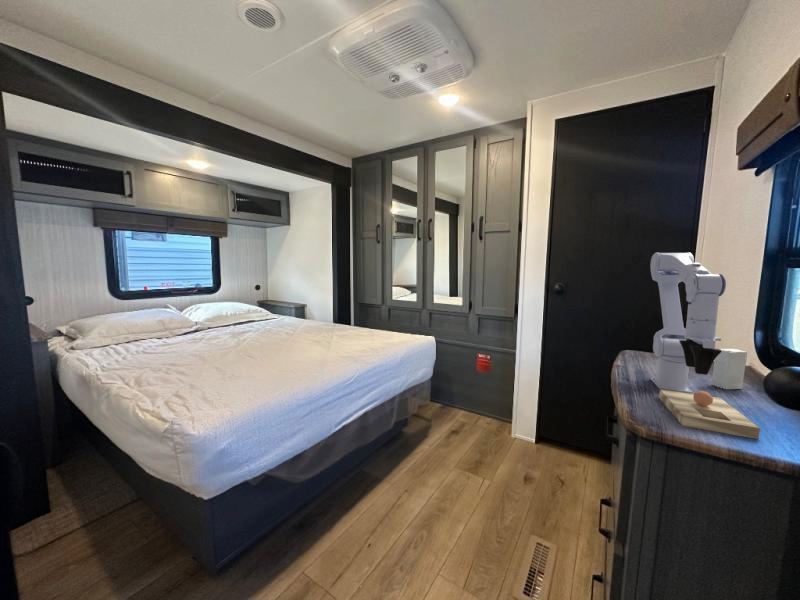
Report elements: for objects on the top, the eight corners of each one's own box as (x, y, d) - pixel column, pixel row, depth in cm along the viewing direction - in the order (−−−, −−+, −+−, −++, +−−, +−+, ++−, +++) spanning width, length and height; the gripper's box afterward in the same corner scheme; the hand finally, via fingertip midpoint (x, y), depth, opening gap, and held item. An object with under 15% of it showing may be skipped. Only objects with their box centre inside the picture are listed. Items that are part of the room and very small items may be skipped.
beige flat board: (658, 397, 91) (659, 389, 91) (719, 406, 86) (720, 397, 85) (682, 425, 75) (683, 415, 75) (758, 439, 69) (760, 428, 69)
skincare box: (727, 384, 102) (731, 347, 101) (743, 389, 98) (748, 351, 97) (710, 384, 102) (714, 348, 100) (725, 390, 97) (730, 351, 96)
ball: (690, 401, 83) (691, 387, 82) (708, 403, 81) (710, 390, 81) (695, 406, 80) (697, 392, 79) (714, 409, 78) (716, 395, 78)
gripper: (734, 324, 75) (728, 380, 76) (711, 318, 88) (706, 366, 89) (695, 321, 79) (690, 375, 80) (678, 316, 91) (673, 362, 93)
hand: (696, 370), depth 85 cm, fingers open, 7 cm apart
